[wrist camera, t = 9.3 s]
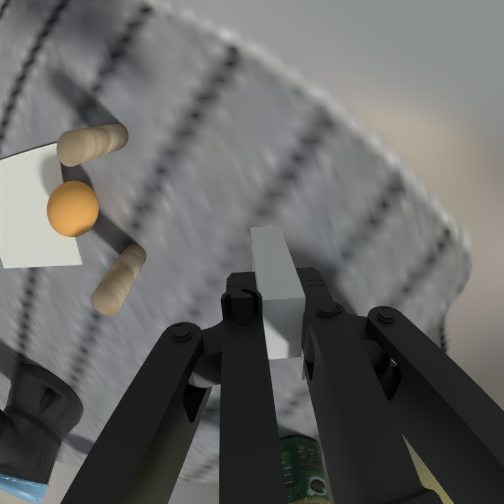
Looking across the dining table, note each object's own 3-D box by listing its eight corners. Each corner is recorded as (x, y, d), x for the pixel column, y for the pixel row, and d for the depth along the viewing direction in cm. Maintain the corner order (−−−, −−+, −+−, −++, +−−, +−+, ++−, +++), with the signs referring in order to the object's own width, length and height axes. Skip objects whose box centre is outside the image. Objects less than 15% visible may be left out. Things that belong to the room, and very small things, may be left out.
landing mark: (5, 267, 31) (4, 268, 31) (-21, 167, 25) (-22, 168, 25) (82, 263, 31) (81, 264, 31) (57, 142, 25) (57, 142, 25)
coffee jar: (261, 447, 49) (268, 532, 32) (292, 430, 47) (306, 523, 30) (296, 457, 52) (307, 533, 35) (325, 442, 50) (343, 522, 33)
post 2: (126, 266, 32) (96, 315, 24) (121, 244, 31) (87, 289, 22) (148, 265, 32) (122, 315, 24) (143, 243, 31) (114, 289, 22)
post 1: (105, 151, 26) (59, 169, 18) (103, 126, 25) (54, 134, 17) (129, 147, 26) (88, 163, 18) (127, 121, 25) (83, 127, 17)
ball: (99, 221, 30) (53, 235, 27) (90, 172, 28) (43, 185, 25) (107, 235, 26) (54, 251, 23) (97, 177, 24) (40, 193, 21)
